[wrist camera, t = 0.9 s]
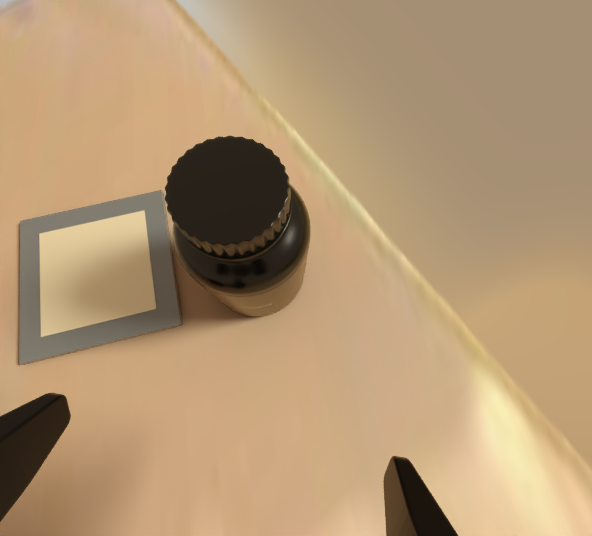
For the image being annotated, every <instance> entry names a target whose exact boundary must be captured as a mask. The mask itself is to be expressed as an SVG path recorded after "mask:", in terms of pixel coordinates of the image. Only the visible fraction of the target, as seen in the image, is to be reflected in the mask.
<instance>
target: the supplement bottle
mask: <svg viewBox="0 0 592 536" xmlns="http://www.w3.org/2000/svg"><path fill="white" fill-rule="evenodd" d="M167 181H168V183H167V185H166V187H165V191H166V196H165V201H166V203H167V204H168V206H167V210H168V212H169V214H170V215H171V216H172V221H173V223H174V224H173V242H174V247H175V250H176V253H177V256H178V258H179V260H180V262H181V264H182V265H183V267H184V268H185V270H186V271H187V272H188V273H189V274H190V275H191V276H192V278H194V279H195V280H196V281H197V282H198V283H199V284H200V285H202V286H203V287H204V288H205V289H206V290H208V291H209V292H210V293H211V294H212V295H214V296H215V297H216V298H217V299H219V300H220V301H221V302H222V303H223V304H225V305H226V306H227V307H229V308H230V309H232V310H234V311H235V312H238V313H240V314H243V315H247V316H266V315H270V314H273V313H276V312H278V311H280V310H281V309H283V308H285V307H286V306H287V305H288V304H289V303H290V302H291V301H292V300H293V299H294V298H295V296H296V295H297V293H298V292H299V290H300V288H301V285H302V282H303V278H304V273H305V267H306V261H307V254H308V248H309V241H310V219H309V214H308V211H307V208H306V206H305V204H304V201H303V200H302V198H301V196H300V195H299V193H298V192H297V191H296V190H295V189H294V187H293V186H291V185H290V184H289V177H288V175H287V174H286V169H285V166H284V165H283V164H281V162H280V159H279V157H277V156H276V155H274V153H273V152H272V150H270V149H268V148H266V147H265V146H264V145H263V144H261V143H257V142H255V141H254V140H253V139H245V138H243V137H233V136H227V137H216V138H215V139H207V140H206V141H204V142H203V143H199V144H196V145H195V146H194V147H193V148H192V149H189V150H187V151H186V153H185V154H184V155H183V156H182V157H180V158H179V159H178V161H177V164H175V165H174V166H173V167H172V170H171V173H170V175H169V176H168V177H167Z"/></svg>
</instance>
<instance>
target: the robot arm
mask: <svg viewBox="0 0 592 536" xmlns="http://www.w3.org/2000/svg"><path fill="white" fill-rule="evenodd" d="M70 417H71V415H70V411H69V407H68V402H67V399H66V397H65V396H64V395H61V394H56V393H48V394H45V395H43V396H41V397H39V398H37V399H35V400H33V401H31V402H29V403H26V404H24V405H22V406H20V407H18V408H16V409H14V410H12V411H10V412H8V413H6V414H4V415H2V416H0V522H1V520H2V519H3V518H4V516H5V515H6V514H7V513H8V511H9V510H10V509H11V507H12V506H13V505H14V503H15V502H16V501H17V500H18V498H19V497H20V496H21V494H22V493H23V492H24V490H25V489H26V488H27V486H28V485H29V483H30V482H31V481H32V479H33V478H34V476H35V475H36V473H37V472H38V470H39V469H40V467H41V466H42V464H43V462H44V461H45V459H46V458H47V456H48V455H49V453H50V452H51V450H52V449H53V447H54V446H55V444H56V442H57V441H58V439H59V438H60V436H61V435H62V433H63V432H64V430H65V429H66V427H67V425H68V423H69V421H70ZM384 500H385V517H386V535H387V536H458V534H457V533H456V531H455V530H454V528H453V527H452V525H451V524H450V522H449V521H448V519H447V517H446V516H445V514H444V513H443V511H442V510H441V508H440V507H439V505H438V503H437V502H436V500H435V499H434V497H433V496H432V494H431V493H430V491H429V490H428V488H427V486H426V485H425V483H424V482H423V480H422V479H421V477H420V476H419V474H418V473H417V471H416V469H415V468H414V466H413V465H412V463H411V462H410V461H409V460H408V459H407V458H403V457H398V456H393V457H391V459H390V462H389V465H388V467H387V470H386V472H385V475H384Z"/></svg>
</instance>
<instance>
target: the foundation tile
mask: <svg viewBox="0 0 592 536" xmlns="http://www.w3.org/2000/svg"><path fill="white" fill-rule="evenodd" d="M180 325H183V324H182V317H181V310H180V304H179V297H178V290H177V283H176V276H175V269H174V263H173V256H172V249H171V242H170V235H169V228H168V222H167V215H166V208H165V201H164V194H163V192H162V191H161V190H160V191H155V192H151V193H146V194H142V195H137V196H133V197H128V198H123V199H119V200H114V201H110V202H105V203H101V204H96V205H91V206H87V207H82V208H78V209H73V210H69V211H64V212H59V213H55V214H50V215H46V216H41V217H37V218H32V219H27V220H23V221H20V322H19V365H25V364H29V363H33V362H37V361H41V360H45V359H49V358H53V357H57V356H61V355H64V354H68V353H72V352H76V351H80V350H84V349H88V348H92V347H96V346H100V345H104V344H108V343H112V342H116V341H120V340H124V339H128V338H132V337H136V336H140V335H144V334H148V333H152V332H156V331H160V330H164V329H168V328H172V327H176V326H180Z"/></svg>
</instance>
